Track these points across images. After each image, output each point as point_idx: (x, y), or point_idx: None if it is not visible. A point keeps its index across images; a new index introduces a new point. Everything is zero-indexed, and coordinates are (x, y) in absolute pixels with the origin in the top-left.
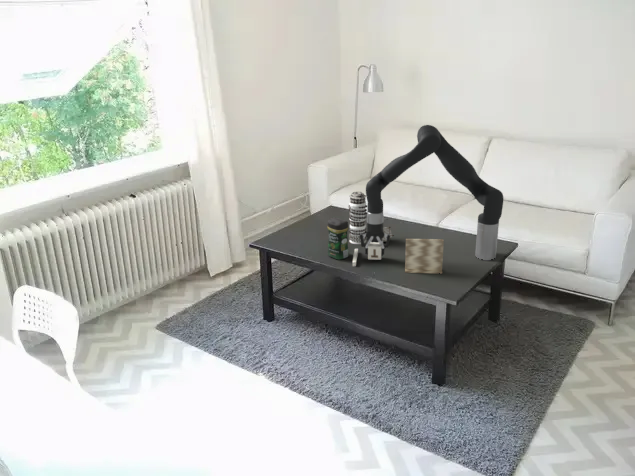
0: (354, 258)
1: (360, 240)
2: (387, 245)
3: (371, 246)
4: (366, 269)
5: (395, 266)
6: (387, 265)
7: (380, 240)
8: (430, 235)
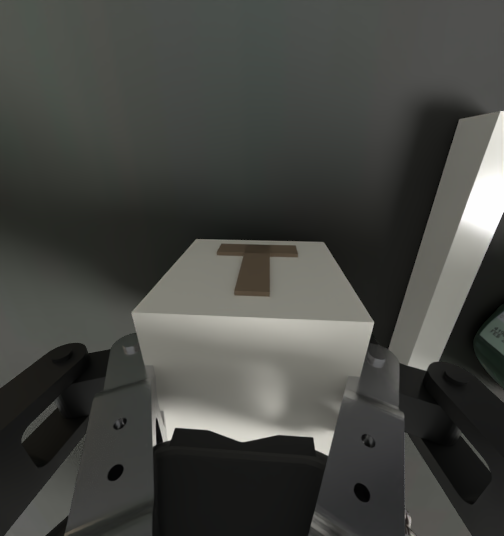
0: (477, 232)
1: None
2: (44, 367)
3: (305, 346)
4: (349, 29)
5: (63, 148)
6: (138, 168)
7: (85, 476)
8: (30, 512)
